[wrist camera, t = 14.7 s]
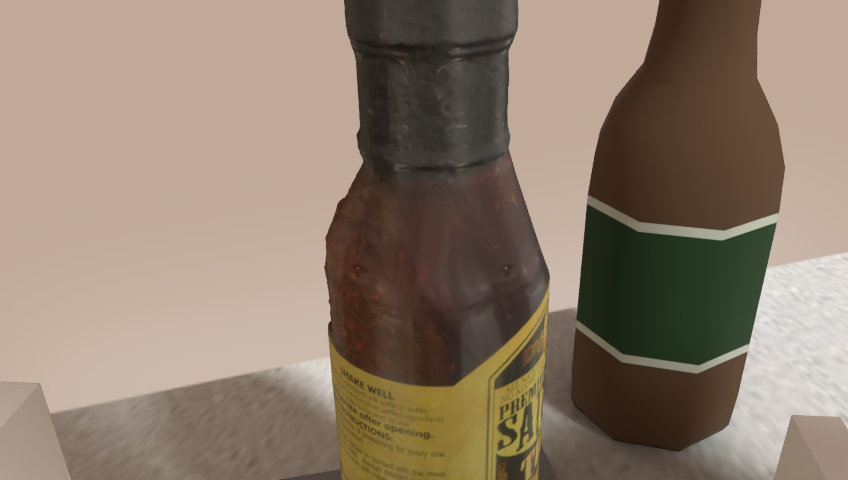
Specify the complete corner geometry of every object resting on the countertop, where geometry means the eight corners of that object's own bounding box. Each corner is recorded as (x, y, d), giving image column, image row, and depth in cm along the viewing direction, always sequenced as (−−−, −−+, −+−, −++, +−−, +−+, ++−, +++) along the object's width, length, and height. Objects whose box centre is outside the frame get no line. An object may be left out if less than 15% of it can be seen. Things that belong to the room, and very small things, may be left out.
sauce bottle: (535, 666, 22) (592, -1, 13) (335, 652, 23) (251, 2, 13) (526, 499, 28) (562, -47, 19) (367, 491, 29) (324, -44, 19)
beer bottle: (547, 356, 38) (584, -166, 27) (690, 344, 39) (783, -170, 28) (594, 464, 31) (669, -178, 20) (766, 448, 32) (930, -183, 21)
